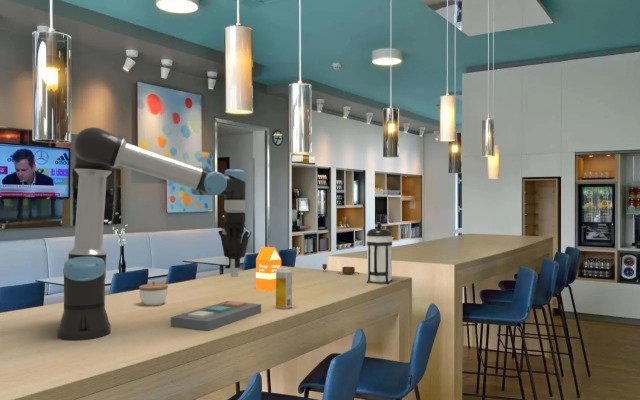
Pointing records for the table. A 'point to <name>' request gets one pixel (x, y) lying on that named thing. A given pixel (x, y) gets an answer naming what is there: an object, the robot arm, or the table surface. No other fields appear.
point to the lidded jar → (153, 294)
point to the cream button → (200, 314)
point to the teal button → (218, 309)
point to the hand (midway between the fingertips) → (234, 276)
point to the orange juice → (267, 268)
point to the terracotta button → (234, 304)
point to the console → (215, 317)
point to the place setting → (344, 270)
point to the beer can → (283, 288)
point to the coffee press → (379, 255)
